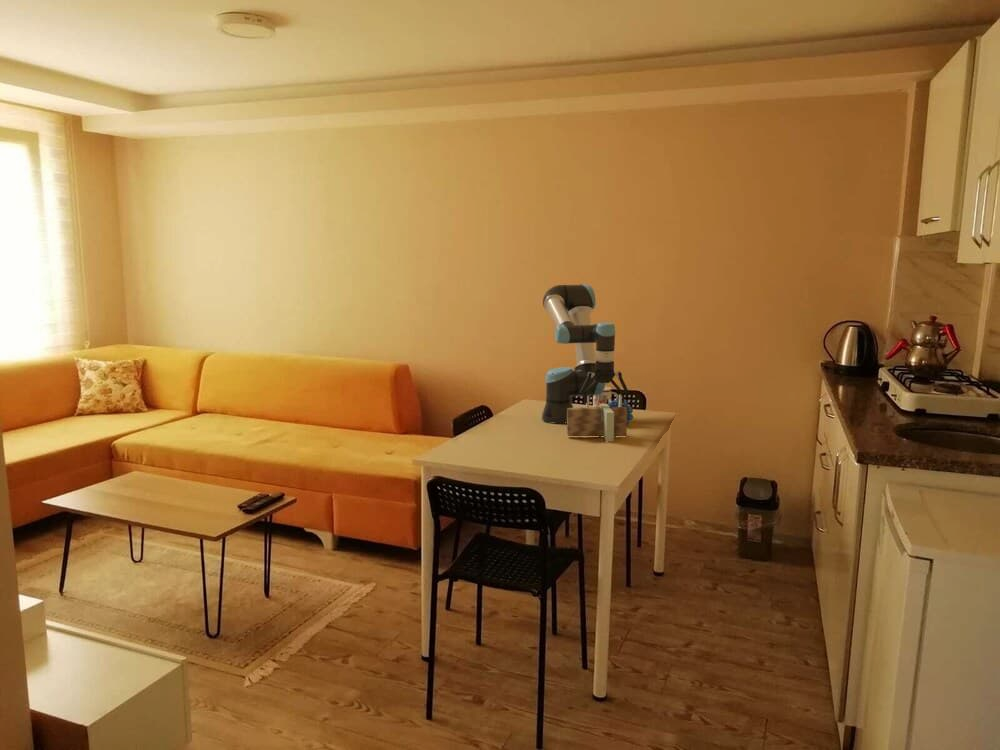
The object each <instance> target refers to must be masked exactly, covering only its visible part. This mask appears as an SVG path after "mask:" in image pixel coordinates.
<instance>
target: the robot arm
mask: <svg viewBox="0 0 1000 750" xmlns="http://www.w3.org/2000/svg"><path fill="white" fill-rule="evenodd" d="M596 303H597V302H596V294H595V291H594V289H593V287H592V285H590V284H582V283H580V284H558V285H554V286H552V287H550V288H548V290H547V291H546V292H545V294H544V296H543V297H542V306H543V308H544V310H545V312H547V313H548V314H549V315H550V318H551V319H552V322H553V324H554V326H555V330H554V338H555V342H556V343H557V344H564V345H569V344H574V349H575V356H576V365H575V366H574V370H573V368H572V367H571V366H566V367H565V366H562V367H561V366H560V367H559V366H558V367H554V368H552V369H549V370H547V371H546V376H545V403H544V404H545V405H544V407H543V411H542V414H541V420H542V421H543V420H544V421H543V422H545V421H548V422H555V423H554V424H566V423H565V422H567V408H574V406H573V397H583V403H584V404H585V408H590V397H593V396H596V395H601V394H602V393H603V391H604V388H605V385H606V384H609V383H611V384H612V385H613V386H614V387H615V389H616V390H617V391H618V393H619V394H618V398H619V406H618V407H622V403H624V400H625V396H626V395H629V394H630V392H629V390H628V388H627V385H626V383H625V381H624V379H623V374H622V372H621V371H617V372H616V371H615V362H614V360H615V344H616V343H615V341H616V325H615V324H614V323H613V322H606V321H605V322H598V323H592V322H591V314H592V312H594V311H593V310H595V307H596ZM594 344H595V345H594ZM615 377H616V378H618V380H619V382H620V385H621V387H622V388H623V390H622V389H621V388H620V386H619V385H618V384H617V383H616V381H614V378H615ZM548 422H547V423H548Z"/></svg>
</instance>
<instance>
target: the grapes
mask: <svg viewBox="0 0 1000 750" xmlns="http://www.w3.org/2000/svg"><path fill="white" fill-rule="evenodd" d="M609 406H610V408H611V409H612V407H618V406H619V397H618V398H614V400H612V399H611V401H609ZM622 407H626V408H627V426H628V425H629V424H630V421H632V420H634V416H633V414H632V413H633V411H634V409H633V408H632V406H629V402H628V401H627V400H625V399H624V403H622Z"/></svg>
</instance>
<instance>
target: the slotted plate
mask: <svg viewBox="0 0 1000 750" xmlns="http://www.w3.org/2000/svg"><path fill="white" fill-rule="evenodd" d="M600 407H601V409H602V422H603V424H604V438H605V440H606V441H614V439H615V438H614V412H613V411H612V409H611V408H610V407H609V406H608V405H607V404H600ZM604 438H603V439H604ZM605 440H604V441H605ZM606 441H605V442H606ZM614 442H615V441H614Z"/></svg>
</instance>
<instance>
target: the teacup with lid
mask: <svg viewBox="0 0 1000 750" xmlns="http://www.w3.org/2000/svg"><path fill="white" fill-rule="evenodd" d="M612 390H613V389H612V387H610V386H607V385H606V384H605V388H604V391H603V393H602V394H601V395H596V396H592V406H593V407H592V408H595V407H600V404H607V405H608V406H609V401H611V400H612V395H615V396H616V398H619V394H618V393H617V392H614V391H612ZM609 407H610V406H609Z"/></svg>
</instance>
